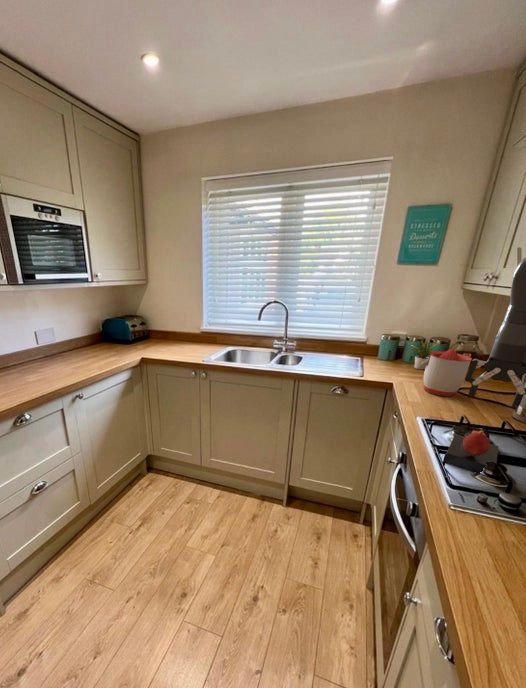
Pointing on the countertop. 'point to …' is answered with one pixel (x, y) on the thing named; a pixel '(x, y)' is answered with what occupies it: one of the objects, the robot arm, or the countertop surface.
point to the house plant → (423, 354)
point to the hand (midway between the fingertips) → (492, 402)
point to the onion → (476, 443)
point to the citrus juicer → (445, 372)
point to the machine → (464, 459)
